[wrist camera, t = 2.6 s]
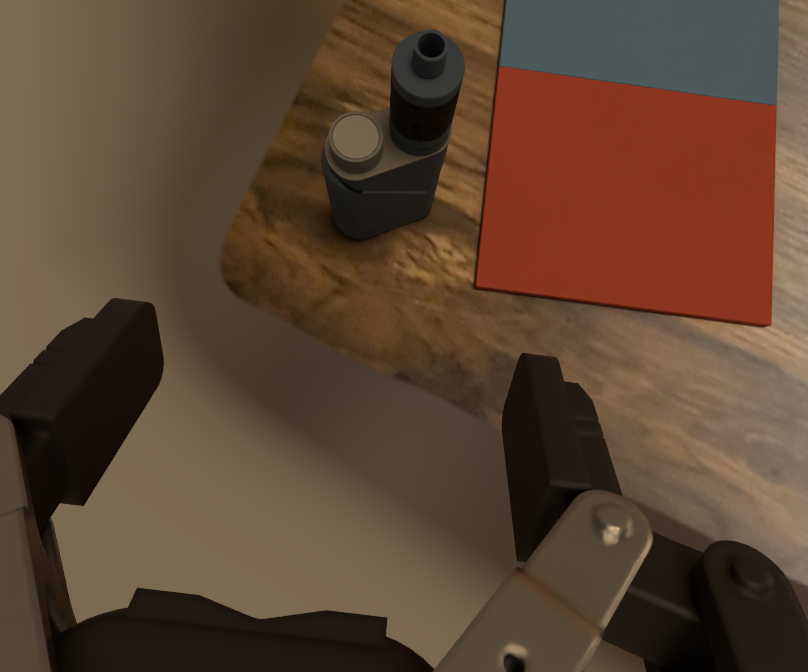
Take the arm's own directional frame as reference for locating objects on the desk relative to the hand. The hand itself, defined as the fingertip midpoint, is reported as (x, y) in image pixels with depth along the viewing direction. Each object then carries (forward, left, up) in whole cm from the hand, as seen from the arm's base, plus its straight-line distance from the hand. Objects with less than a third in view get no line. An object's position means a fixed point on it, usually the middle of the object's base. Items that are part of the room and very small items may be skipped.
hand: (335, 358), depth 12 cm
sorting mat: (+12, +18, -15) cm, 26 cm away
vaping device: (0, +9, -15) cm, 18 cm away
